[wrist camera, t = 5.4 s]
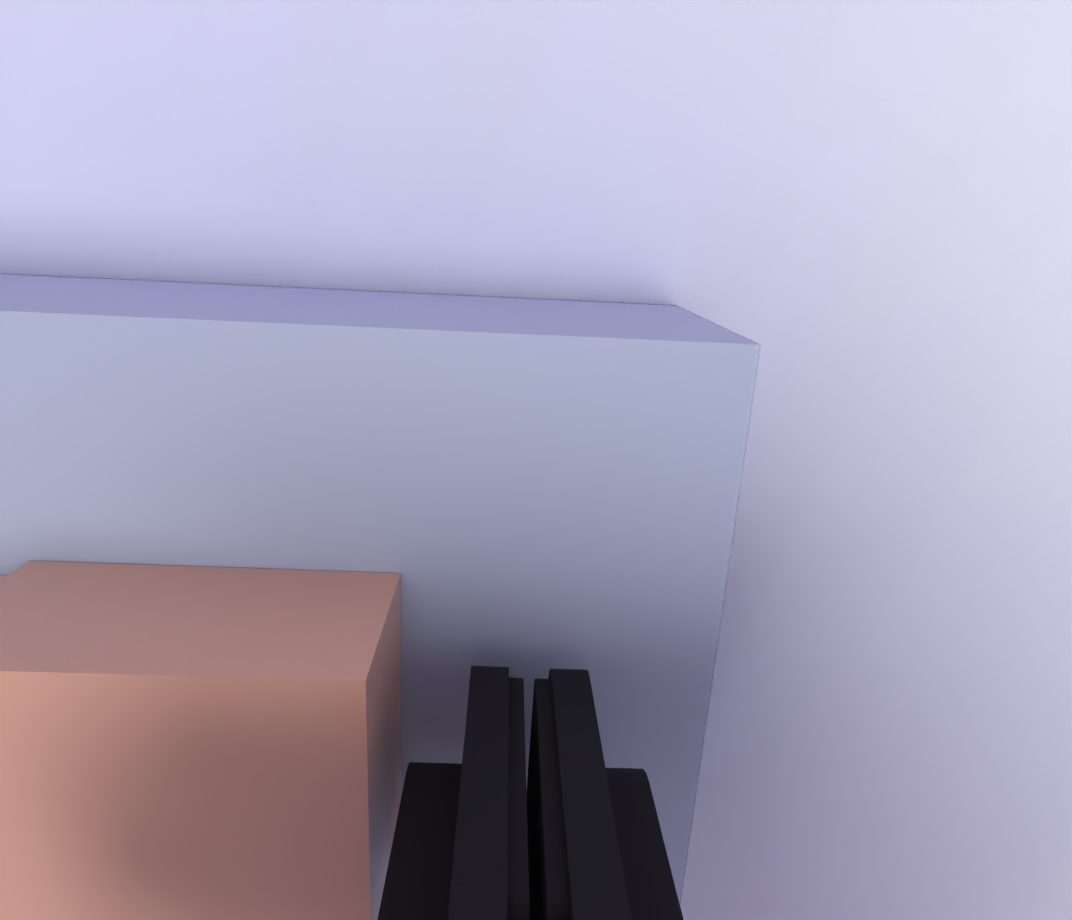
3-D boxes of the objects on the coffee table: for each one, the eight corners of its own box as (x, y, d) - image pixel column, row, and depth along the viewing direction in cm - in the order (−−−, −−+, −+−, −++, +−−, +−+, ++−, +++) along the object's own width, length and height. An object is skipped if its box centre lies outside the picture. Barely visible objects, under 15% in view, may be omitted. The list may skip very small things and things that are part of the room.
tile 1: (400, 572, 10) (366, 680, 8) (401, 854, 12) (372, 1018, 9) (29, 560, 10) (-127, 667, 7) (81, 849, 11) (-34, 1015, 9)
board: (675, 305, 14) (760, 344, 9) (623, 803, 18) (663, 1016, 13) (-128, 267, 13) (-486, 288, 9) (-10, 793, 17) (-214, 1014, 12)
